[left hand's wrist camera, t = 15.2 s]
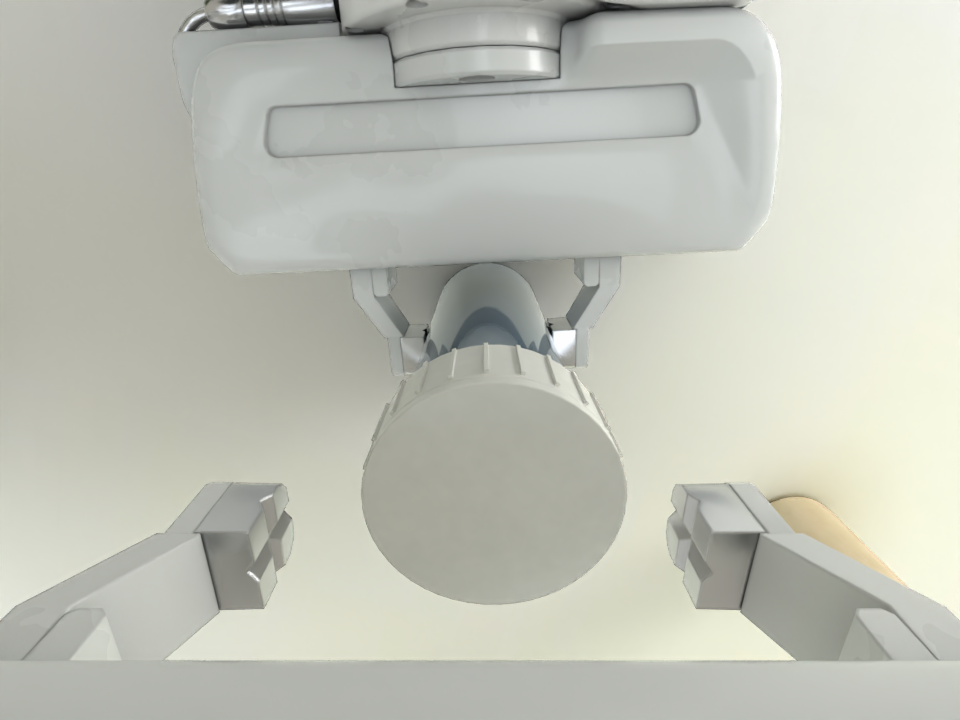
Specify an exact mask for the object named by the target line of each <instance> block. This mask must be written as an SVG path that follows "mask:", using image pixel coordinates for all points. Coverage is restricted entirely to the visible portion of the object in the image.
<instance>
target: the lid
mask: <svg viewBox="0 0 960 720" xmlns="http://www.w3.org/2000/svg"><path fill="white" fill-rule="evenodd" d="M372 441H373V443H372V446H371V448H370V451H369V453H368V456H367V458H366V461H365V463H364V466H363V469H364V474H363V478H362V490H361V498H362V509H363V513H364V517H365V521H366V524H367V527H368V529H369V532H370V534H371V536H372V538H373V540H374V542H375V543H376V545H377V547H378V548H379V550H380V551H381V553H382V554H383V555H384V556H385V558H386V559H387V560H388V561H389V562H390V563H391V564H392V565H393V566H394V567H395V568H396V569H397V570H398V571H399V572H400V573H402V574H403V575H404V576H406V577H407V578H408V579H410V580H411V581H413V582H414V583H416V584H418V585H419V586H421V587H423V588H424V589H427V590H429V591H431V592H433V593H436V594H438V595H441V596H444V597H447V598H450V599H453V600H458V601H463V602H467V603H475V604H487V605H501V604H512V603H519V602H524V601H529V600H533V599H537V598H540V597H543V596H546V595H549V594H551V593H553V592H556V591H558V590H561V589H562V588H564V587H566V586H568V585H569V584H571V583H573V582H575V581H576V580H577V579H579V578H580V577H582V576H583V575H584V574H586V573H587V572H588V571H589V570H590V569H591V568H592V567H594V566H595V565H596V564H597V563H598V562H599V560H600V559H601V558H602V557H603V556H604V555H605V553H606V552H607V551H608V549H609V548H610V546H611V545H612V543H613V541H614V540H615V538H616V536H617V534H618V531H619V529H620V527H621V524H622V521H623V517H624V514H625V509H626V501H627V481H626V476H625V470H624V466H623V463H622V460H621V458H620V457H622V453H621V451H620V449H619V447H618V445H617V443H616V441H615V439H614V437H613V434H612V432H611V430H610V426H609V424H608V422H607V420H606V418H605V416H604V414H603V412H602V410H601V408H600V406H599V404H598V402H597V400H596V398H595V396H594V394H593V393H591V394H590V393H589V392H588V391H587V389H586V388H585V387H584V385H583V384H582V383H581V382H580V381H579V379H578V377H577V375H576V373H575V372H574V371H572V372H570V371H569V370H567V369H566V368H565V367H563V366H562V365H561V364H559V363H557V362H556V361H554V360H552V359H551V356H550V355H548V354H547V355H546V356H544V355H542V354H539V353H537V352H534V351H532V350H528V349H524V348H521V346H520V345H516V347H515V346H508V345H488V343H484V345H478V346H470V347H466V348H462V349H458V350H457V349H456V348H454V349H452V352H449V353H446V354H444V355H441V356H439V357H437V358H436V359H434V360H432V361H430V362H428V361H425V362H424V363H423V366H422V367H421V368H420V369H418V370H417V371H416V372H414V373H413V374H412V375H411V376H410V377H409V378H408V379H407V380H406V381H404V380H402V381H401V383H400V386H399V388H398V391H397V392H396V394H395V396H394V397H393V399H392V401H391V402H390V404H388V403H386V405H385V408H384V410H383V413H382V415H381V418H380V420H379V423H378V425H377V427H376V430H375V432H374V435H373V437H372Z"/></svg>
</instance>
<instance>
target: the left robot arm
mask: <svg viewBox="0 0 960 720" xmlns="http://www.w3.org/2000/svg"><path fill="white" fill-rule="evenodd" d="M288 502H289V498H288V493H287V488H286V487H285V486H284V485H283V484H282V483H233V482H212V483H209V484H206V485H205V486H204V487H203V489H202V490H201V491H200V492H199V493H198V494H197V496H196V497H195V498H194V499H193V500H192V502H191V503H190V504H189V505H188V506H187V507H186V509H185V510H184V511H183V512H182V513H181V514H180V516H179V517H178V518H177V519H176V520H175V521H174V523H173V524H172V525H171V526H170V527H169V529H168V530H167V531H166V532H165V533H156V534H154V535H153V536H151V537H149V538H147V539H145V540H143V541H141V542H139V543H137V544H135V545H133V546H131V547H129V548H127V549H125V550H123V551H121V552H120V553H118V554H116V555H114V556H112V557H110V558H108V559H106V560H104V561H102V562H100V563H98V564H96V565H94V566H92V567H90V568H89V569H87V570H85V571H83V572H81V573H79V574H77V575H75V576H73V577H71V578H69V579H67V580H65V581H63V582H61V583H59V584H57V585H56V586H54V587H52V588H50V589H48V590H46V591H44V592H42V593H40V594H38V595H36V596H34V597H32V598H30V599H28V600H26V601H25V602H23V603H21V604H19V605H17V606H15V607H14V608H13V609H12V610H11V611H10V612H9V613H8V614H7V615H6V616H5V617H4V618H3V619H2V620H0V720H960V620H959V619H958V618H957V617H956V616H955V615H954V614H952V613H951V612H950V611H949V610H948V609H947V608H946V607H945V606H943V605H941V604H939V603H937V602H935V601H933V600H931V599H929V598H927V597H925V596H924V595H922V594H920V593H918V592H916V591H914V590H912V589H910V588H908V587H906V586H904V585H902V584H900V583H898V582H896V581H895V580H893V579H891V578H889V577H887V576H885V575H883V574H881V573H879V572H877V571H875V570H873V569H871V568H869V567H867V566H866V565H864V564H862V563H860V562H858V561H856V560H854V559H852V558H850V557H848V556H846V555H844V554H842V553H840V552H838V551H836V550H835V549H833V548H831V547H829V546H827V545H825V544H823V543H821V542H819V541H817V540H815V539H813V538H811V537H809V536H807V535H806V534H804V533H795V532H794V531H793V530H792V529H791V527H790V526H789V525H788V524H787V523H786V522H785V520H784V519H783V518H782V517H781V516H780V514H779V513H778V512H777V511H776V510H775V509H774V507H773V506H772V505H771V504H770V503H769V502H768V500H767V499H766V498H765V497H764V496H763V495H762V493H761V492H760V491H759V490H758V489H757V488H756V486H755V485H753V484H751V483H749V482H736V483H720V484H676V485H675V487H674V489H673V492H672V497H671V502H672V503H673V505H674V507H675V509H676V511H675V512H674V513H673V514H672V515H671V516H670V517H669V518H668V522H667V530H666V534H667V546H668V549H669V553H670V556H671V558H672V560H673V562H674V565H676V566H677V567H678V568H680V569H681V570H683V571H684V578H683V583H684V585H685V587H686V590H687V592H688V594H689V596H690V598H691V600H692V602H693V604H694V606H695V608H696V609H721V610H741V611H740V612H741V613H742V614H743V615H744V616H745V617H747V618H748V619H749V620H750V621H751V622H752V623H754V624H755V625H756V626H757V627H758V628H759V629H761V630H762V631H763V632H764V633H765V634H766V635H768V636H769V637H770V638H771V639H772V640H773V641H775V642H776V643H777V644H778V645H779V646H780V647H782V648H783V649H784V650H785V651H786V652H787V653H789V654H790V655H791V656H792V657H793V658H794V659H796V660H797V661H163V660H164V659H166V658H167V657H168V656H169V655H170V654H172V653H173V652H174V651H175V650H176V649H177V648H179V647H180V646H181V645H182V644H183V643H184V642H186V641H187V640H188V639H189V638H190V637H191V636H193V635H194V634H195V633H196V632H197V631H198V630H200V629H201V628H202V627H203V626H204V625H205V624H207V623H208V622H209V621H210V620H211V619H212V618H214V617H215V616H216V615H217V614H218V613H219V610H239V609H264V608H265V606H266V604H267V602H268V600H269V598H270V596H271V594H272V592H273V590H274V587H275V585H276V583H277V578H276V571H277V570H279V569H280V568H282V567H283V566H284V565H286V562H287V560H288V558H289V556H290V553H291V549H292V544H293V522H292V518H291V517H290V516H289V515H288V514H287V513H286V512H285V511H284V509H285V507H286V505H287V503H288Z"/></svg>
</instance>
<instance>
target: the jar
mask: <svg viewBox="0 0 960 720" xmlns="http://www.w3.org/2000/svg"><path fill="white" fill-rule="evenodd" d="M484 343H488V345H508V346H515V347H516V345H520V346H521V348H524V349H528V350H532V351H534V352H537V353H539V354H542V355H544V356H546V355H547V354H548V355H550V356H551V359H552V360H554V361H556V362H557V363H559V364H561V365H562V366H563V367H564V365H563V363H562V361H561V358H560V356H559V353H558V351H557V348H556V346H555V343H554V341H553V338H552V336H551V334H550V331H549V329H548V326H547V324H546V321H545V319H544V316H543V314H542V311H541V309H540V307H539V304H538V302H537V299H536V297H535V294H534V292H533V290H532V288H531V286H530V285H529V283H528V282H527V281H526V280H525V279H524V278H523V277H522V276H521V275H520V274H519V273H518V272H516V271H515V270H513V269H511V268H509V267H507V266H504V265H500V264H495V263H480V264H475V265H471V266H469V267H466V268H464V269H462V270H461V271H459V272H458V273H456V274H455V275H454V276H453V277H452V278H451V279H450V280H449V281H448V282H447V284H446V285H445V287H444V288H443V290H442V292H441V295H440V297H439V300H438V303H437V306H436V309H435V312H434V315H433V319H432V322H431V325H430V328H429V331H428V334H427V337H426V340H425V343H424V346H423V349H422V352H421V355H420V358H419V361H418V364H417V367H416V370H415V372H416V371H417V370H418V369H420V368H421V367H422V366H423V363H424V362H425V361H428V362H430V361H432V360H434V359H436V358H437V357H439V356H441V355H444V354H446V353H449V352H452V349H454V348H456V349H457V350H458V349H462V348H466V347H470V346H478V345H484Z"/></svg>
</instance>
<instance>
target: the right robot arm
mask: <svg viewBox="0 0 960 720" xmlns="http://www.w3.org/2000/svg"><path fill="white" fill-rule="evenodd" d="M752 1H753V0H204V1H203V6H204V7H202V8H200V9H198V10H196V11H194V12H193V13H191V14H190V15H189V16H188V17H187V18H186V19H185V20H184V22H183V23H182V25H181V27H180V29H179V31H178V34H176V36H175V37H174V40H173V59H174V64H175V68H176V72H177V77H178V81H179V86H180V90H181V94H182V99H183V102H184V105H185V107H186V109H187V111H188V113H189V115H190V116H191V118H192V137H193V151H194V164H195V173H196V182H197V190H198V197H199V204H200V211H201V217H202V223H203V228H204V233H205V238H206V241H207V244H208V247H209V249H210V250H211V252H212V253H213V254H214V255H215V256H216V257H217V258H218V259H219V260H220V261H221V262H222V263H223V264H224V265H225V266H226V267H227V268H229V269H230V270H231V271H232V272H233V273H235V274H238V275H254V274H274V273H295V272H315V271H335V270H350V276H351V283H352V290H353V298H354V300H355V301H356V302H357V303H358V305H359V306H360V307H361V309H362V310H363V311H364V312H365V314H366V315H367V316H368V318H369V319H370V320H371V321H372V323H373V324H374V325H375V326H376V328H377V329H378V330H379V332H380V333H381V334H382V335H383V337H384V338H388V345H389V354H390V362H391V370H392V373H393V376H405V375H412V374H413V373H414V372H415V370H416V367H417V364H418V361H419V358H420V355H421V352H422V349H423V346H424V343H425V340H426V337H427V334H428V331H429V328H428V324H412V325H409V322H408V321H407V319H406V318H405V316H404V315H403V314H402V312H401V311H400V309H399V308H398V306H397V305H396V303H395V302H394V300H393V299H392V298H391V296H390V295H389V292H390V291H391V290H392V288H393V287H394V286H395V284H396V283H397V274H396V267H416V266H436V265H456V264H476V263H496V262H516V261H537V260H557V259H574V273H575V274H576V276H577V277H578V278H579V279H580V280H581V282H582V283H583V284H584V285H583V287H582V289H581V290H580V292H579V294H578V296H577V297H576V299H575V301H574V303H573V304H572V306H571V308H570V310H569V311H568V313H567V315H566V317H562V318H547V326H548V329H549V331H550V334H551V336H552V338H553V341H554V343H555V346H556V348H557V351H558V353H559V356H560V358H561V361H562V363H563V365H564V367H565V368H581V367H587V365H588V350H589V328H593V326H594V325H595V323H596V322H597V320H598V319H599V317H600V316H601V314H602V312H603V311H604V309H605V308H606V306H607V305H608V303H609V302H610V300H611V299H612V297H613V296H614V294H615V292H616V291H617V289H618V288H619V286H620V271H621V256H637V255H658V254H678V253H698V252H718V251H736V250H740V249H742V248H744V247H745V246H746V245H747V244H748V243H749V242H750V241H751V240H752V238H753V237H754V236H755V235H756V234H757V232H758V231H759V230H760V229H761V228H762V226H763V225H764V224H765V223H766V221H767V219H768V217H769V214H770V211H771V207H772V202H773V196H774V189H775V182H776V174H777V165H778V155H779V143H780V126H781V101H782V74H781V63H780V57H779V52H778V49H777V45H776V42H775V40H774V38H773V36H772V34H771V32H770V30H769V29H768V28H767V26H766V25H765V24H764V23H763V22H762V21H761V20H760V19H759V18H758V17H756V16H755V15H753V14H751V13H749V12H748V11H745V10H742V8H744V7H745V6H747V5H748V4H749V3H750V2H752ZM207 22H209V23H210V25H211V26H212V27H213V28H214V29H217V30H204V31H196V30H197V29H198V28H199V27H200V26H202V25H203V24H205V23H207ZM265 26H267V27H265ZM269 26H270V27H269Z"/></svg>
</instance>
